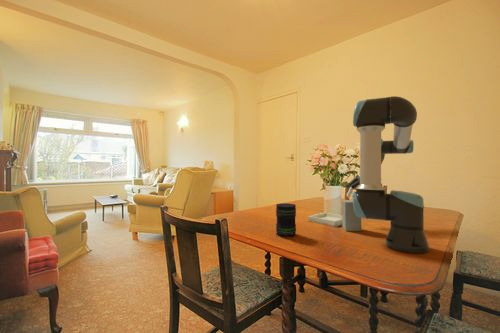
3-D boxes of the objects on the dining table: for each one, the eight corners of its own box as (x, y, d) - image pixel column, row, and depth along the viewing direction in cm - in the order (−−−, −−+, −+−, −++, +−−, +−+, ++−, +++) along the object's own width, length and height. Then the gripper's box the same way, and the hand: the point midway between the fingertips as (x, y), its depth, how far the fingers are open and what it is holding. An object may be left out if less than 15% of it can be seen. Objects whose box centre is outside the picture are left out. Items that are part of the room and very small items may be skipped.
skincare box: (357, 228, 130) (357, 199, 130) (362, 232, 123) (362, 201, 123) (341, 228, 131) (341, 199, 131) (345, 231, 124) (345, 201, 124)
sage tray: (334, 226, 134) (334, 221, 134) (308, 221, 147) (308, 216, 147) (350, 221, 145) (350, 216, 145) (324, 216, 159) (324, 212, 159)
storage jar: (282, 230, 126) (282, 202, 126) (299, 234, 120) (299, 204, 120) (272, 235, 118) (272, 205, 118) (289, 239, 112) (289, 207, 112)
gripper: (396, 175, 135) (385, 205, 126) (353, 174, 154) (341, 199, 145) (392, 166, 132) (381, 196, 122) (349, 166, 151) (336, 191, 141)
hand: (359, 198), depth 133 cm, fingers open, 13 cm apart
